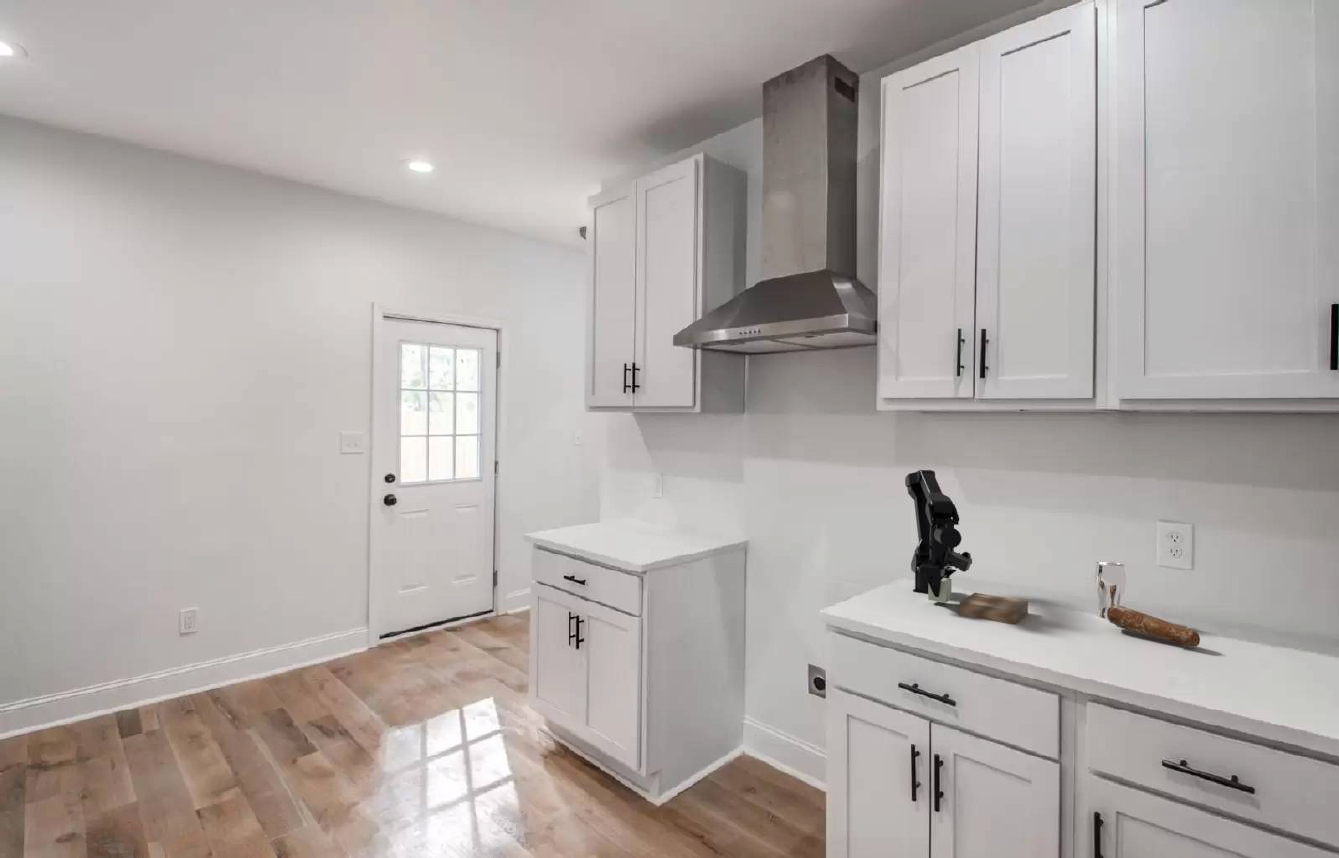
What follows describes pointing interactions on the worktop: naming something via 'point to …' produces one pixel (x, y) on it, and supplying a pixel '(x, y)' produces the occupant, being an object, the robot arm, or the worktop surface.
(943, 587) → the sage block
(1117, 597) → the beer glass
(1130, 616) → the bread
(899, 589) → the worktop surface
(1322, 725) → the worktop surface
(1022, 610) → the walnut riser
